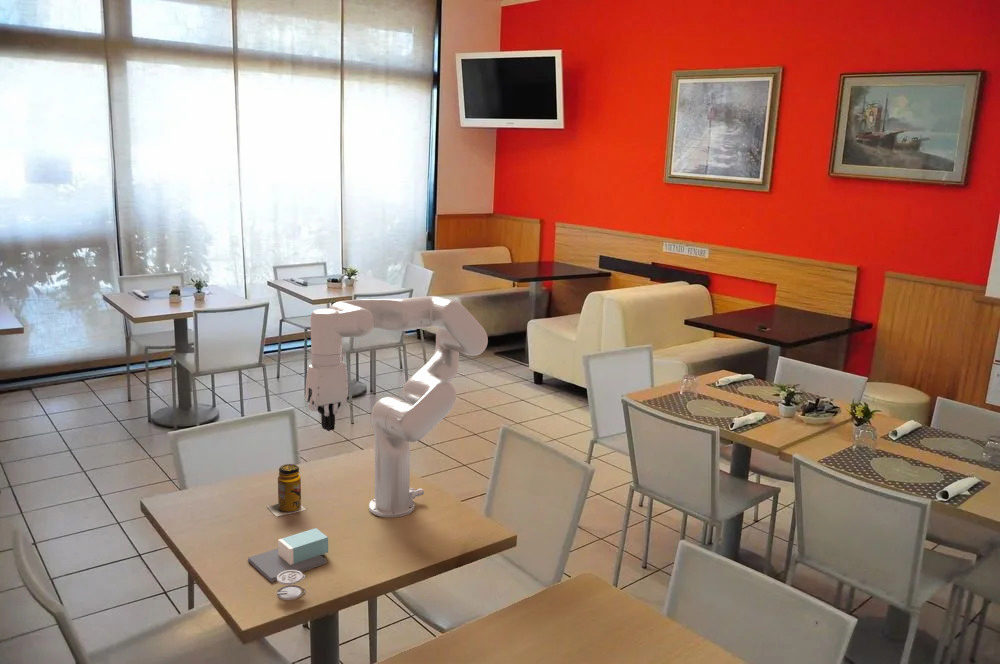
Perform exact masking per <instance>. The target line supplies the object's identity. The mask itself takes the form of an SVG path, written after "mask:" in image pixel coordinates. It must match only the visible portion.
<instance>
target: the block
mask: <svg viewBox="0 0 1000 664" xmlns="http://www.w3.org/2000/svg"><path fill="white" fill-rule="evenodd" d="M277 541H278V542H277V543H278V545H277V548H278V551H279V556H280V557H282V558H283V559H284V560H285V561H286V562H288V563H289V564H290V565H292V564H295V563H298V562H301V561H304V560H307V559H310V558H313V557H316V556H319V555H321V556H322V555H324V554H327V553H329V537H328V536H327V535H326V534H324V533H323V532H322V531H320V530H319V529H318V528H317V527H316V528H311V529H308V530H305V531H302V532H298V533H295V534H293V535H289V536H285V537H282V538H279V539H277Z"/></svg>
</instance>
